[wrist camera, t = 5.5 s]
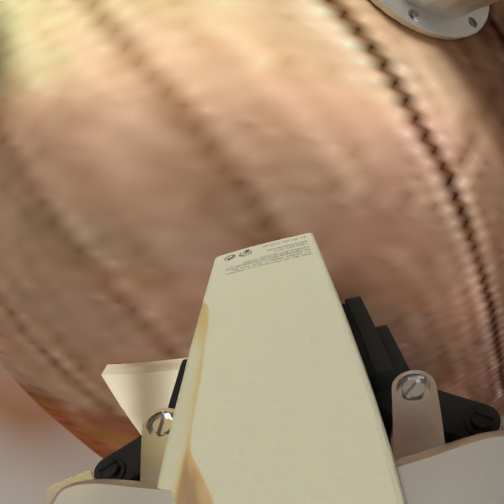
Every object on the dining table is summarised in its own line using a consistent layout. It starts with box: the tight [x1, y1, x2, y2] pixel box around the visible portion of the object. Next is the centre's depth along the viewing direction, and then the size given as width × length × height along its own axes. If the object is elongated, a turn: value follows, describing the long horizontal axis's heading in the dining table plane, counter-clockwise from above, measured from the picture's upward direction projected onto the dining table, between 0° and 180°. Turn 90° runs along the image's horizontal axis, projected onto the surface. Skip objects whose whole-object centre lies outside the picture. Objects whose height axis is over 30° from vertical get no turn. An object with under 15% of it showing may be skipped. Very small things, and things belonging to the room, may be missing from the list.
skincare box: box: [157, 233, 406, 504], centre depth 9 cm, size 6×4×12 cm
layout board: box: [102, 358, 188, 435], centre depth 26 cm, size 20×14×3 cm
